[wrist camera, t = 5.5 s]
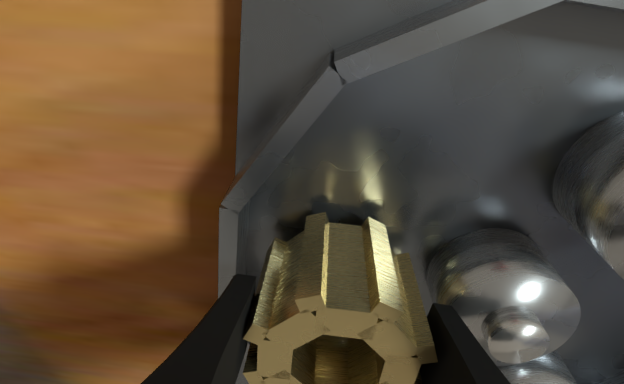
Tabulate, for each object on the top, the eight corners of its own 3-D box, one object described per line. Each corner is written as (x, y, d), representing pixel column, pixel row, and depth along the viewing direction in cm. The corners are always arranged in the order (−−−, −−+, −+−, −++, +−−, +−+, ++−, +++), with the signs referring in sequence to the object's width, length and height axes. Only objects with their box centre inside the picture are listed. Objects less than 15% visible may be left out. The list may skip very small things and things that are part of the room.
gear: (424, 222, 13) (458, 310, 9) (393, 330, 15) (410, 431, 12) (269, 205, 13) (242, 286, 9) (264, 315, 15) (242, 411, 12)
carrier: (934, 42, 11) (1323, 80, 6) (581, 414, 21) (642, 523, 16) (254, -73, 10) (197, -110, 6) (232, 364, 20) (205, 462, 16)
